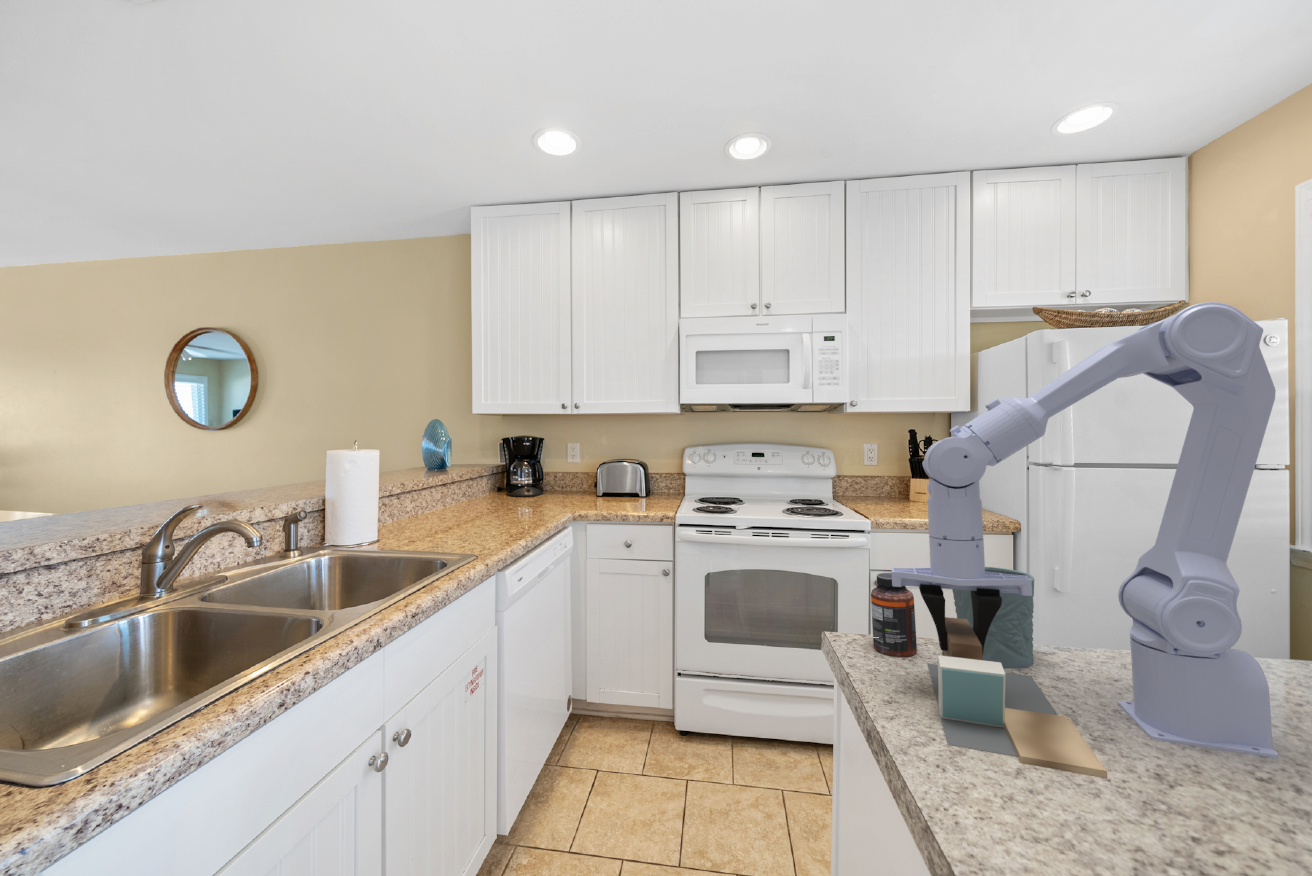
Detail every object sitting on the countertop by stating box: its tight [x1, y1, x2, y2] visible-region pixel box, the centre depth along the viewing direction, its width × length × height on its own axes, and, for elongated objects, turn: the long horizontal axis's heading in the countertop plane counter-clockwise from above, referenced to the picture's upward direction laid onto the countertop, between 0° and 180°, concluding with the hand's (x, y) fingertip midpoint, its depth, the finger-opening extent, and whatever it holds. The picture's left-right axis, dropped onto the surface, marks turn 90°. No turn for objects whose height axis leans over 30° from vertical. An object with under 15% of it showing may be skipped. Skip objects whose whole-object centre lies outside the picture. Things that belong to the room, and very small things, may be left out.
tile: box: [937, 654, 1006, 728], centre depth 56 cm, size 6×2×6 cm, turn 67°
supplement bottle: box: [870, 572, 918, 658], centre depth 77 cm, size 6×6×11 cm
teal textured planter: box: [951, 566, 1035, 669], centre depth 73 cm, size 10×10×12 cm
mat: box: [926, 663, 1059, 758], centre depth 59 cm, size 12×21×1 cm, turn 157°
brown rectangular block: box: [941, 616, 983, 660], centre depth 62 cm, size 3×10×5 cm, turn 157°
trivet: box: [1005, 708, 1108, 779], centre depth 52 cm, size 6×10×1 cm, turn 157°
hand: (960, 649), depth 62 cm, fingers closed on brown rectangular block, 3 cm apart
